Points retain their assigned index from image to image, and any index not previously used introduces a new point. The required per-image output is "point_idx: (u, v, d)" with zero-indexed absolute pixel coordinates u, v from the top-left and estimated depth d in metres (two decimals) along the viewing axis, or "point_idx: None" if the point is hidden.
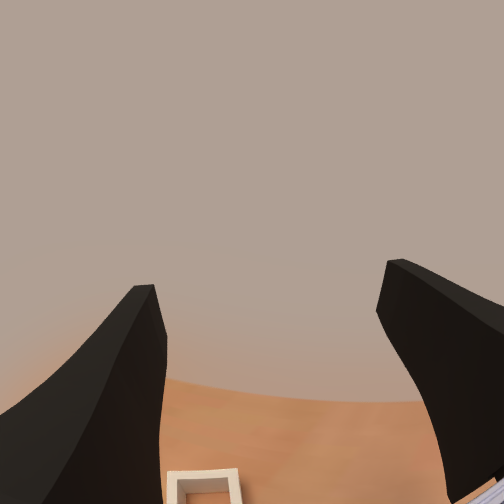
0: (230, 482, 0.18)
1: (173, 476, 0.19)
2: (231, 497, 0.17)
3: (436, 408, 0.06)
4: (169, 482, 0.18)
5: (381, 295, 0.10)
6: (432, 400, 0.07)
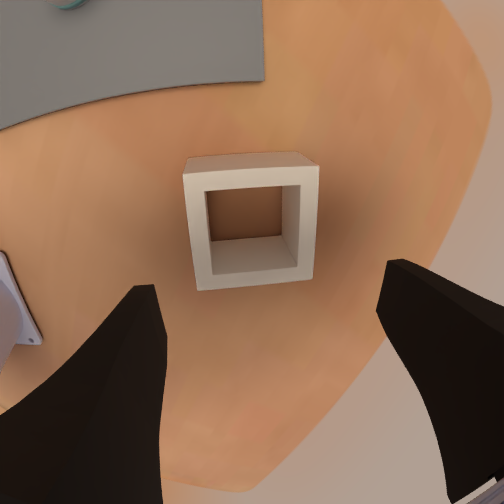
0: (286, 270, 0.15)
1: (306, 178, 0.13)
2: (257, 272, 0.14)
3: (436, 408, 0.06)
4: (293, 171, 0.12)
5: (381, 295, 0.10)
6: (432, 400, 0.07)
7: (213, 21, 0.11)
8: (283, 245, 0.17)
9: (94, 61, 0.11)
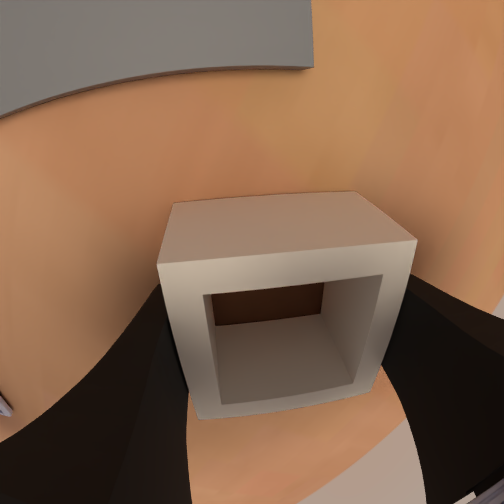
0: (336, 388, 0.09)
1: (394, 262, 0.06)
2: (292, 396, 0.08)
3: (415, 416, 0.06)
4: (375, 251, 0.06)
5: None
6: (411, 408, 0.07)
7: None
8: (326, 336, 0.10)
9: (13, 44, 0.05)
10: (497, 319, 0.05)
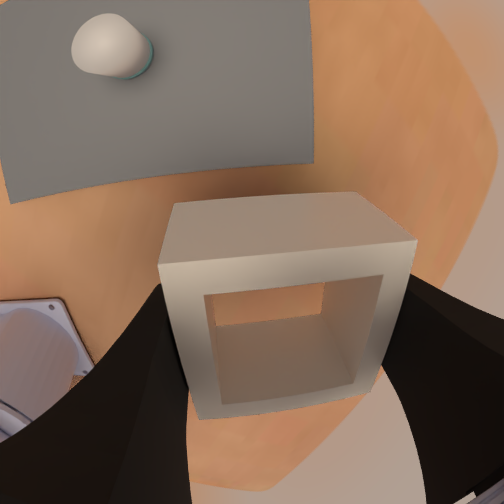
0: (337, 388, 0.09)
1: (395, 262, 0.06)
2: (293, 396, 0.08)
3: (415, 416, 0.06)
4: (375, 251, 0.06)
5: None
6: (411, 408, 0.07)
7: (270, 106, 0.14)
8: (326, 336, 0.10)
9: (158, 138, 0.14)
10: (497, 318, 0.05)
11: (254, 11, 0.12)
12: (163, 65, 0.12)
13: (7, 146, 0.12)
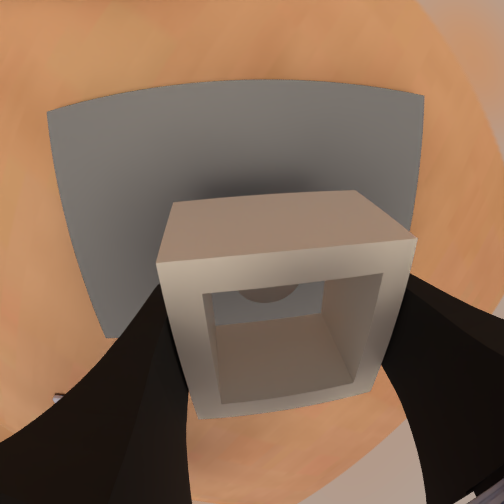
0: (336, 388, 0.09)
1: (394, 260, 0.06)
2: (292, 396, 0.08)
3: (415, 416, 0.06)
4: (375, 250, 0.06)
5: None
6: (412, 408, 0.07)
7: None
8: (326, 335, 0.10)
9: None
10: (497, 318, 0.05)
11: (374, 181, 0.14)
12: None
13: (99, 290, 0.15)
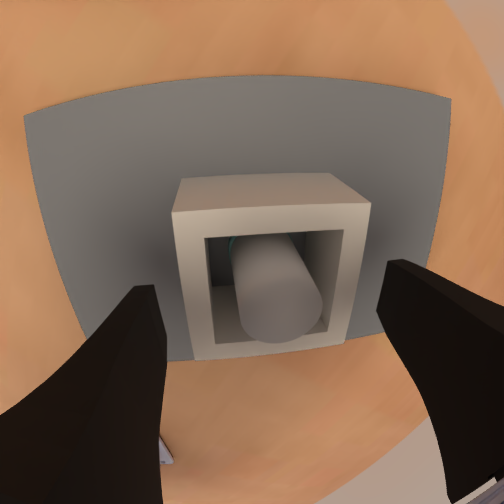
0: (313, 335, 0.11)
1: (353, 220, 0.09)
2: None
3: (436, 408, 0.06)
4: (335, 210, 0.08)
5: (381, 295, 0.10)
6: (432, 400, 0.07)
7: None
8: None
9: None
10: None
11: (396, 194, 0.12)
12: None
13: (89, 314, 0.13)
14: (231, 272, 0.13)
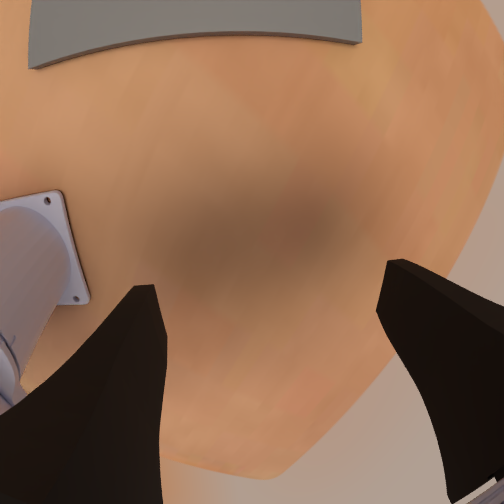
0: None
1: None
2: None
3: (436, 408, 0.06)
4: None
5: (381, 295, 0.10)
6: (432, 400, 0.07)
7: None
8: None
9: None
10: None
11: None
12: None
13: (41, 10, 0.09)
14: None
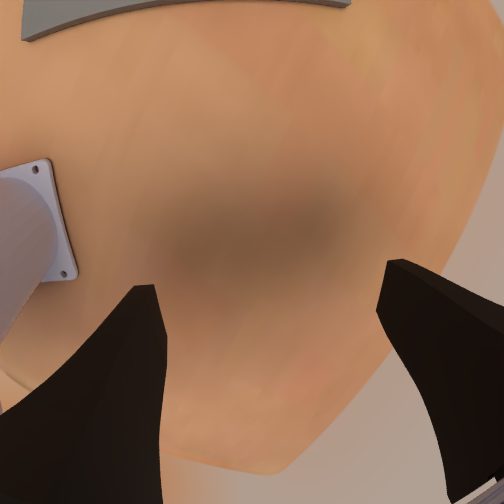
0: None
1: None
2: None
3: (436, 408, 0.06)
4: None
5: (381, 295, 0.10)
6: (432, 400, 0.07)
7: None
8: None
9: None
10: None
11: None
12: None
13: None
14: None
